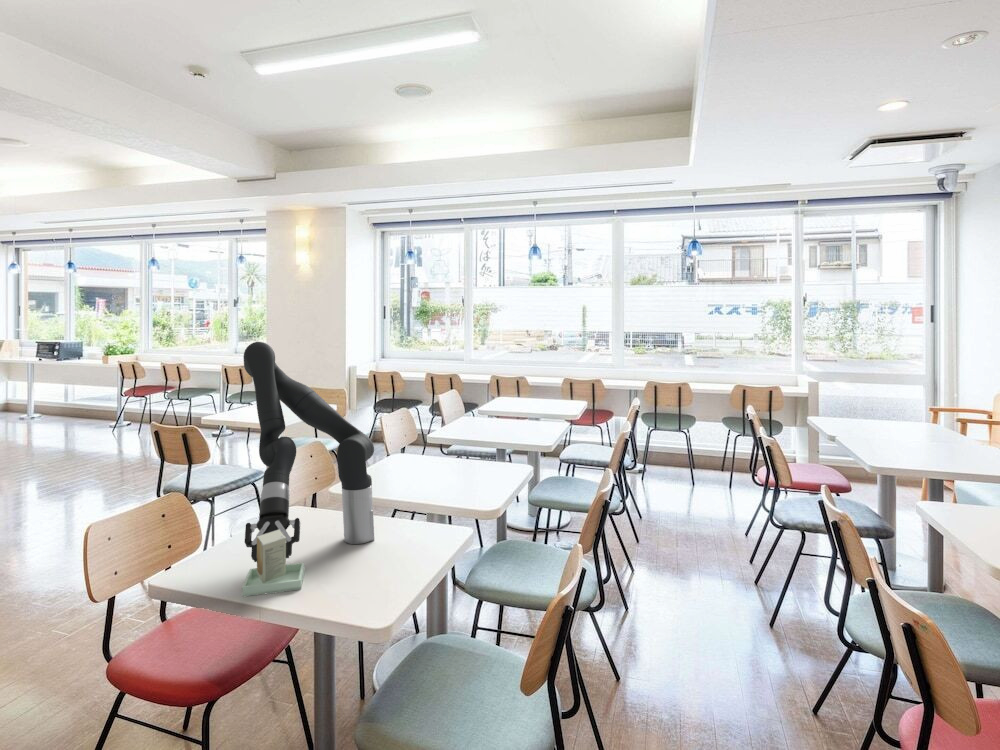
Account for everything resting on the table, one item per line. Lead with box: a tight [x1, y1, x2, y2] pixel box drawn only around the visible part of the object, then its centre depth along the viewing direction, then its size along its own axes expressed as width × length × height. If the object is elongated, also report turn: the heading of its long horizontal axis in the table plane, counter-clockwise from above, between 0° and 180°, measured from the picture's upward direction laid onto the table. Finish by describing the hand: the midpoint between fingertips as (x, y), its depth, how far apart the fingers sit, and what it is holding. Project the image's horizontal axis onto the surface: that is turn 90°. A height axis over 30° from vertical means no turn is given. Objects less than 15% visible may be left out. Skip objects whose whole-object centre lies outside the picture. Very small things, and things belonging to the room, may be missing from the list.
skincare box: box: [256, 529, 287, 583], centre depth 149 cm, size 6×4×12 cm
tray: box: [242, 562, 305, 597], centre depth 151 cm, size 14×11×2 cm
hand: (271, 559), depth 149 cm, fingers closed on skincare box, 7 cm apart
